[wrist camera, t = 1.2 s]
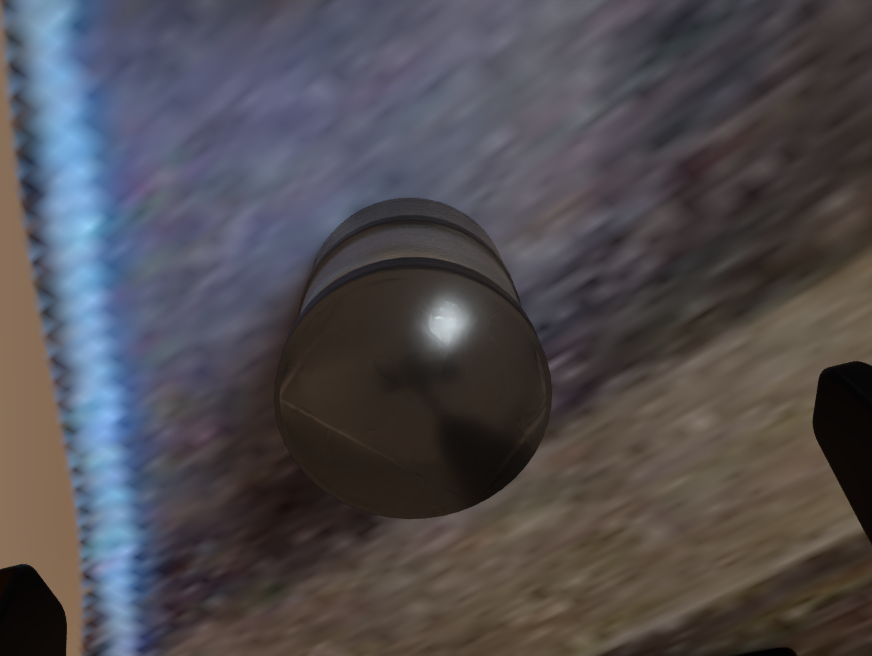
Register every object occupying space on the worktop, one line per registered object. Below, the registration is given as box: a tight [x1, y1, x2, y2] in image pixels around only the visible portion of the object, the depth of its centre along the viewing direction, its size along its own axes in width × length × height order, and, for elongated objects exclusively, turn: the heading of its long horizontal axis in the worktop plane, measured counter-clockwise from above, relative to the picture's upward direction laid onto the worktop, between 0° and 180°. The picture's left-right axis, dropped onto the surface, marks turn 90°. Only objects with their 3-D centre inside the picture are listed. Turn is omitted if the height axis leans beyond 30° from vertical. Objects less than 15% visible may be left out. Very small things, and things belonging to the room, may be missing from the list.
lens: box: [274, 198, 552, 519], centre depth 18 cm, size 5×5×6 cm
